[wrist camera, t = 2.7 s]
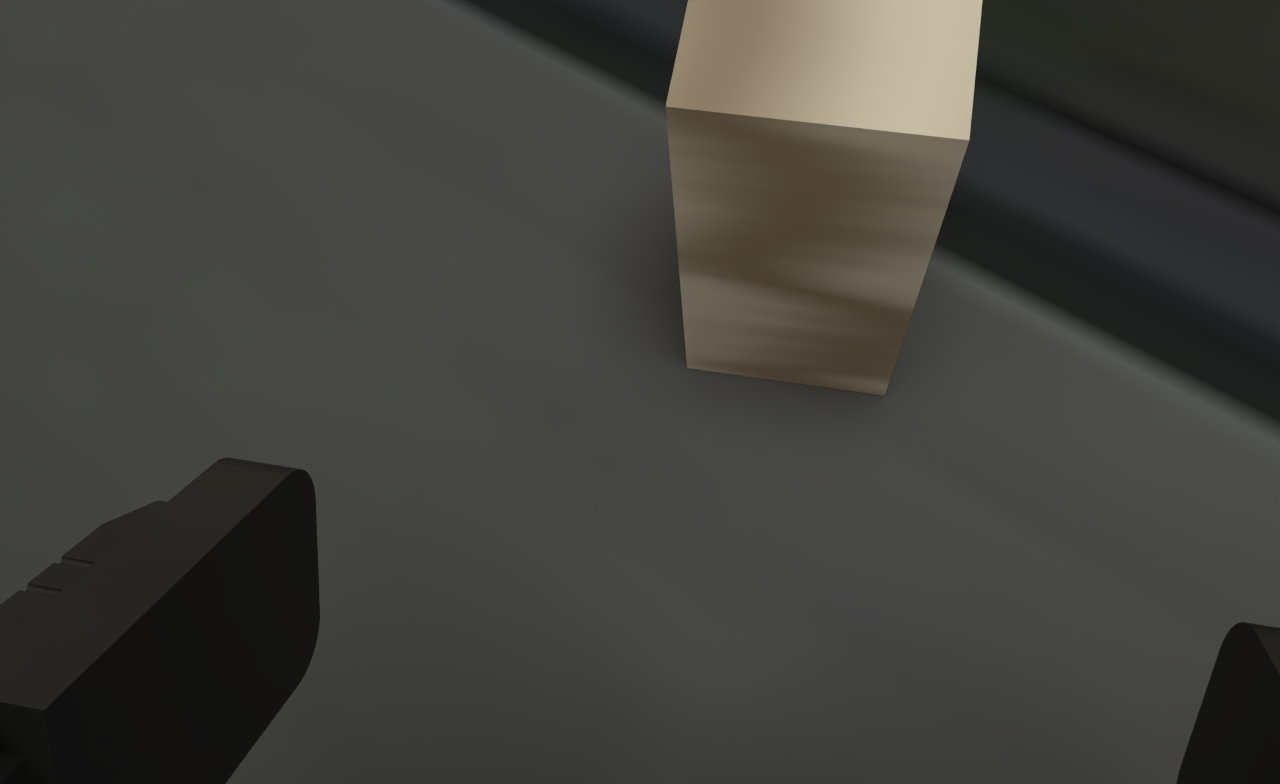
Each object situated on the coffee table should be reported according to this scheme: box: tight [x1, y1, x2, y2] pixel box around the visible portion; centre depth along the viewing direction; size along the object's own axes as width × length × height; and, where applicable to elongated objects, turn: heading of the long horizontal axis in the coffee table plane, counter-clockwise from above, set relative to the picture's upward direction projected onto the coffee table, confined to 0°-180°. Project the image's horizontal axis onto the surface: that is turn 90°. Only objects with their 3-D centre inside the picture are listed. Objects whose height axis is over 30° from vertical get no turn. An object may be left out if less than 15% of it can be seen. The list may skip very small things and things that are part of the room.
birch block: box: [666, 0, 982, 396], centre depth 23 cm, size 5×5×10 cm
